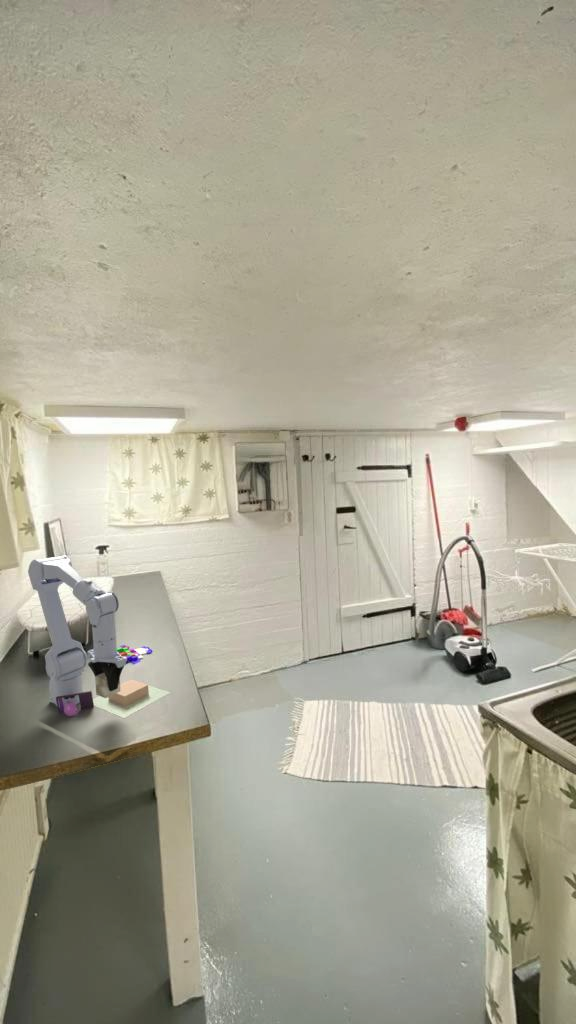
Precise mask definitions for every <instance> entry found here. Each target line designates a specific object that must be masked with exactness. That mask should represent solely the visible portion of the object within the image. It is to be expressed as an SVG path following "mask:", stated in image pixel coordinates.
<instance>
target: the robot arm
mask: <svg viewBox="0 0 576 1024" xmlns="http://www.w3.org/2000/svg"><path fill="white" fill-rule="evenodd" d="M28 565H29V566H28V570H27V573H28V577H29V580H30V584H31V588H32V590H35V591H37V595H38V598H39V601H40V605H41V609H42V613H43V616H44V620H45V624H46V626H47V627H46V628H47V631H48V634H49V638H50V642H51V645H52V646H51V647H50V648H49V650H48V651H47V652H46V653H45V655H44V660H45V671H46V674H47V676H48V677H49V678H50V680H49V682H48V688H49V700H50V701H49V702H50V703H52V704H54V705H55V706H56V707H57V702H56V697H57V696H63V695H69V694H75V693H81V692H84V687H83V672H85V668H86V666H88V667H89V668H90V670H91V671H92V673H93V675H94V677H95V676H97V675H100V674H102V673H105V676H106V679H107V683H108V688H109V691H113V690H115V689H117V688H118V683H119V678H121V673H122V671H123V670H124V667H125V666H126V663H127V662H125V658H123V657H124V656H121V655H120V654H119V653H118V652H117V648H118V647H117V645H118V644H117V631H116V628H117V627H116V617H115V615H116V612H117V611H118V610H119V606H120V603H119V599H118V597H117V596H118V595H116V594H115V592H114V591H104V590H103V589H101V588H100V587H99V586H98V585H97V584H96V583H94V582H93V580H91V579H90V578H89V579H88V578H86V579H85V578H84V579H83V578H82V577H81V575H80V574H79V573H78V572H77V571H76V570H75V569H74V568H73V565H72V560H71V559H69V557H68V556H67V555H65V554H63V555H59V556H53V557H46V558H41V559H39V558H38V559H32V560H31V562H30V563H29V564H28ZM62 584H66V586H68V587H70V588H71V589H72V595H73V596H74V597H75V598H76V600H78V601H79V602H80V603H82V604H83V605H84V607H85V611H86V614H87V616H88V620H89V621H88V622H89V624H90V625H91V626H92V627H91V629H92V630H91V632H92V642H93V644H92V645H93V648H92V649H89V650H87V652H86V651H85V650H84V647H83V645H82V643H81V642H80V641H77V640H75V639H73V638H72V635H71V633H70V632H71V631H70V629H69V628H70V627H69V626H68V622H67V617H66V615H65V611H64V608H63V605H62V600H61V597H60V593H59V590H58V589H59V587H60V586H61V585H62ZM88 658H89V659H90V658H91V659H90V662H88V661H89V660H88ZM67 702H74V703H75V705H77V706H78V704H80V700H79V695H76V696H75V697H74V698H70V697H69V699H64V698H63V704H65V703H67ZM58 703H59V701H58ZM59 707H60V704H59ZM64 707H65V706H64Z"/></svg>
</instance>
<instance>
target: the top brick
mask: <svg viewBox="0 0 576 1024" xmlns="http://www.w3.org/2000/svg"><path fill="white" fill-rule="evenodd" d="M120 678H121V677H120ZM120 678H119V683H118V688H117V689H115V690H113V691H109V688H108V683H107V679H106V676H105V673H102V674H100V675H97V676H95V675H94V681H95V682H94V684H95V694H96V696H101V697H104V698H108V697H110V696H112V695H114V694H116V693H118V692H120V684H121V680H120Z"/></svg>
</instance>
